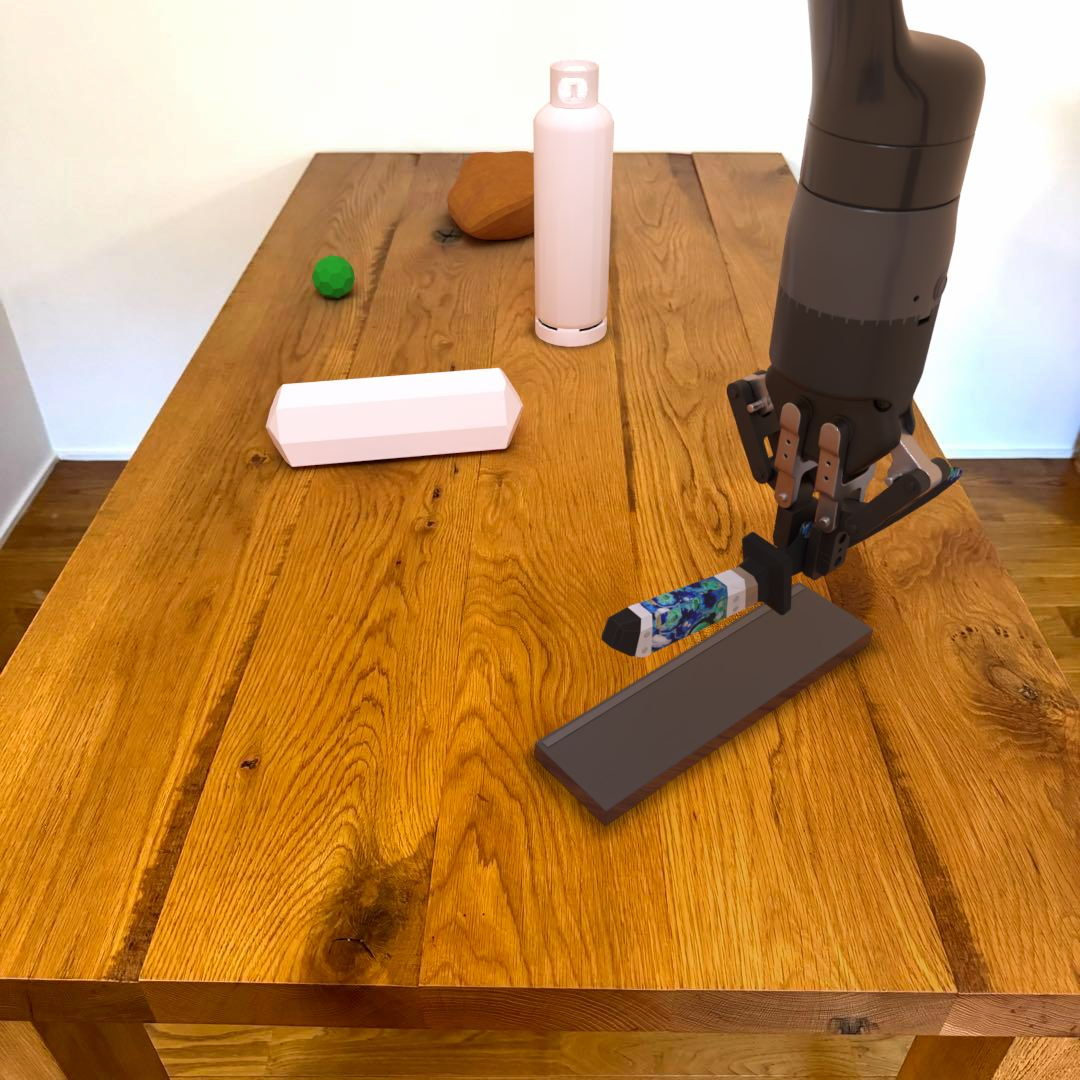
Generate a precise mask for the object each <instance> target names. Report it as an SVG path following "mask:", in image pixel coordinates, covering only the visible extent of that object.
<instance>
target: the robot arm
mask: <svg viewBox="0 0 1080 1080" xmlns="http://www.w3.org/2000/svg"><path fill="white" fill-rule="evenodd" d="M806 1H807V12H808V13H807V14H808V24H809V25H808V26H809V27H808V28H809V39H810V40H809V41H810V42H809V43H810V57H811V98H810V105H809V111H808V118H807V123H806V129H805V136H804V144H803V149H802V150H803V151H802V158H801V163H800V164H801V165H800V171H799V179H798V184H797V189H796V191H795V192H796V193H795V197H794V200H793V203H792V208H791V210H790V214H789V217H788V221H787V226H786V231H785V236H784V237H785V238H784V244H783V250H782V259H781V264H780V265H781V266H780V272H779V279H778V285H777V294H776V300H775V306H774V314H773V321H772V327H771V328H772V329H771V335H770V342H769V347H768V355H769V361H770V365H769V366H768V368H767V369H766V370H765V369H760V370H758V371H755V372H753V373H751V374H748V375H746V376H744V377H742V378H740V379H737V380H735V381H733V382H731V383H729V384H727V387H726V396H727V399H728V402H729V405H730V408H731V409H730V410H731V412H732V414H733V418H734V421H735V424H736V428H737V431H738V433H739V437H740V440H741V441H740V442H741V443H742V446H743V450H744V453H745V455H746V459H747V463H748V467H749V470H750V472H751V476H752V478H753V479H754V481H755V482H757V484H760V485H765V484H767V485H768V486H769V487H770V488H771V490H773V492H774V493H773V497H774V500H775V502H776V503H777V507H776V508H777V509H776V514H775V520H774V527H773V528H774V529H773V532H772V541H773V545H774V546H775V547H777V548H778V549H780V550H781V551H783V550H785V549H786V548H788V547H789V546H790V545H791V544H792V543H793V542H794V541H795V540H796V538H797V537H798V535H799V533H800V529H801V526H802V525H803V523H804V522H816V523H814V524H812V525H811V530H810V535H809V541H808V546H807V551H806V556H805V562H804V567H803V572H802V575H804V576H805V577H807V578H808V579H810V580H812V581H814V582H815V581H817V580H819V579H821V578H822V577H826V576H829V575H830V574H831V573H833V572H834V571H836V570H838V569H839V568H841V567H842V566H843V565H844V564H845V562H846V558H847V553H848V549H849V548H847V547H848V544H849V540H850V537H851V538H853V539H859V538H861V537H863V536H864V535H866V534H867V533H869V532H870V531H872V530H873V529H874V528H876V527H878V526H879V525H883V524H884V523H886V522H888V521H889V520H891V519H892V518H893V517H895V516H896V515H898V514H899V513H900V512H902V511H903V510H904V509H906V508H907V507H909V506H910V505H911V504H913V503H914V502H915V501H917V500H918V499H920V498H921V497H922V496H924V495H925V494H926V493H928V492H929V491H931V490H932V489H933V488H935V487H936V486H938V485H939V484H940V483H942V482H943V481H944V480H946V479H947V478H948V477H949V476H950V473H951V469H950V467H951V466H950V464H949V462H948V461H947V460H946V459H945V458H942V457H938V456H935V457H933V458H931V459H930V458H929V457H928V455H927V454H926V452H925V451H924V450H923V448H922V447H921V446H920V445H919V443H918V442H917V441H916V439H915V438H914V437H913V435H914V433H915V431H916V430H915V429H916V418H915V417H916V416H915V414H914V408H913V399H914V396H915V393H916V391H917V389H918V386H919V384H920V382H921V379H922V376H923V374H924V370H925V366H926V362H927V359H928V354H929V350H930V347H931V342H932V337H933V333H934V330H935V325H936V321H937V318H938V314H939V310H940V305H941V301H942V297H943V294H944V292H945V290H946V287H947V283H948V272H949V268H950V264H951V260H952V257H953V251H954V247H955V241H956V233H957V224H958V223H957V222H958V214H959V213H958V212H959V205H960V199H961V193H962V190H963V186H964V181H965V177H966V173H967V169H968V164H969V161H970V156H971V152H972V149H973V144H974V140H975V136H976V131H977V128H978V123H979V119H980V115H981V112H982V107H983V102H984V98H985V97H984V96H985V91H986V81H987V80H986V79H987V78H986V66H985V63H984V60H983V59H982V57H981V55H980V54H979V53H978V51H976V50H975V49H974V48H973V47H971V46H970V45H968V44H966V43H964V42H962V41H959V40H957V39H953V38H949V37H946V36H943V35H940V34H934V33H930V32H924V31H920V30H914V29H909V27H908V23H907V20H906V15H905V11H904V5H903V0H806ZM766 438H767V440H768V444H769V446H770V450H771V454H772V455H771V456H769V454H768V451H767V447H766V445H765V440H766ZM888 455H891V459H892V462H891V465H890V467H888V469H887V472H886V477H885V478H884V484H885V485H886V486H887V487H886V488H885V489H884V490H883V491H881V492H880V493H878V494H877V495H876V496H875V497H874V498H872V499H871V500H869V501H868V502H865V497H866V492H867V487H868V485H869V483H870V482H872V480H873V478H874V476H875V471H876V466H877V462H878V461H880V460H882V459H884V458H885V457H886V456H888ZM815 493H818V498H817V497H816V496H814V494H815Z"/></svg>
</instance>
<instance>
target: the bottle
mask: <svg viewBox="0 0 1080 1080" xmlns="http://www.w3.org/2000/svg"><path fill="white" fill-rule="evenodd" d="M568 67H583V68H585V69H586V70H579V71H578V70H576V71H575V70H574V71H573V70H572V71H571V70H566V69H567V68H568ZM599 73H600V65H599V63H597V62H595V61H591V60H586V59H563V60H557V61H554V62H552V63H550V65H549V102H547V103H546V104H544V105H543V106H541V108H539V110H538V111H537V112H535V115H534V118H533V122H532V123H533V125H532V126H533V127H532V129H533V133H532V134H533V157H534V232H533V233H534V236H533V237H534V240H533V241H534V244H533V245H534V310H535V315H534V329H535V331H534V332H535V335H536V336H537V337H538V338H539V339H540V340H541V341H543V342H545V343H546V344H551V345H554V346H558V347H567V348H568V347H571V348H572V347H584V346H589V345H592V344H594V343H597V342H599V341H600V340H602V339H603V338H604V337H605V336H606V334H607V330H608V329H607V327H608V318H607V312H608V305H609V304H608V303H609V301H608V299H609V278H610V277H609V273H610V272H609V271H610V247H611V245H610V244H611V223H612V222H611V221H612V220H611V219H612V194H613V193H612V191H613V168H614V167H613V166H614V165H613V164H614V161H613V160H614V139H615V137H614V136H615V120H614V118H613V116H612V112H611V111H610V110H609V109H608V108H607V107H606V106H605V105H604V104H602V103H600V102H599V81H600V80H599V79H600V78H599V77H600V74H599ZM564 78H567V79H583V80H584V82H585V83H586V88H585V89H584V90H578V86H579V85H580V82H573V81H571V82H569V83H568V85H569V86H570V90H568V89H566V88H565V87H564V85H563V83H562V79H564ZM546 325H547V326H548V327H547V326H546ZM594 326H596V327H594ZM550 327H552V328H550ZM553 328H554V329H553ZM589 328H590V329H589ZM583 329H584V330H583ZM585 329H586V330H585Z"/></svg>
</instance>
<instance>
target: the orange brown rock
mask: <svg viewBox="0 0 1080 1080" xmlns="http://www.w3.org/2000/svg"><path fill="white" fill-rule="evenodd" d="M446 203H447V204H446V205H447V211H448V212H449V214H450V216H451V218H452V219H453V222H455V224H456V225H457V227H459V228H460V229H461V231H462V232H464V233H465V234H467V235H469V236H471V237H474V238H476V239H479V240H487V241H488V240H489V241H490V240H491V241H492V240H493V241H494V240H495V241H496V240H497V241H503V240H512V239H518V238H521V237H524V236H527V235H530V234H533V233H534V154H532V153H530V152H529V151H526V150H525V151H524V150H514V151H513V150H512V151H503V152H493V151H479V152H473V153H471V154H470V155H469V156H468V157H467V158H466V159H465V160H464V161H463V162H462V166H461V168H460V171H459V173H458V175H457V179H456V181H454V184H453V186H452V187H451V189H450V191H449V192H448V194H447V195H446Z"/></svg>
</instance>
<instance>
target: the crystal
mask: <svg viewBox="0 0 1080 1080" xmlns="http://www.w3.org/2000/svg"><path fill="white" fill-rule="evenodd" d="M523 410H524V404H523V402H522V400H521V398H520V395H519V394H518V392H517V390H516V388H515V387H514V385H513V384H512V383H511V381H510V379H509V377H508V376H507V375H506V373H505V372H504V371H503V369H502V368H500V367H493V368H492V367H491V368H478V369H466V370H454V371H453V370H452V371H441V372H428V373H415V374H414V373H413V374H401V375H400V374H399V375H387V376H374V377H361V378H349V379H348V378H347V379H337V380H336V379H334V380H321V381H312V382H311V381H309V382H295V383H283V384H282V385H281V386H280V387H279V388H278V389H277V391H276V394H275V396H274V398H273V401H272V403H271V406H270V409H269V412H268V416H267V421H266V424H265V429H266V432H267V433H268V436H269V437H270V439H271V441H272V443H273V445H274V446H275V449H277V451H278V452H279V454H280V455H281V457H282V459H283V460H284V461H285V462H286V463H287V464H288V465H289V466H290V467H292V468H294V467H305V466H316V465H329V464H330V465H331V464H339V463H340V464H341V463H342V464H343V463H353V462H362V461H375V460H387V459H397V458H398V459H399V458H410V457H411V458H412V457H422V456H424V457H425V456H433V455H446V454H456V453H457V454H458V453H469V452H480V451H481V452H483V451H492V450H505V449H507V448H508V447H509V446H510V444H511V442H512V439H513V437H514V435H515V433H516V430H517V427H518V425H519V423H520V420H521V417H522V413H523Z"/></svg>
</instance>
